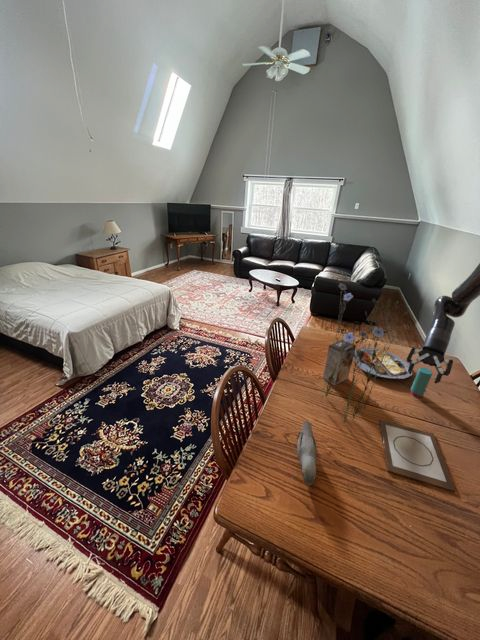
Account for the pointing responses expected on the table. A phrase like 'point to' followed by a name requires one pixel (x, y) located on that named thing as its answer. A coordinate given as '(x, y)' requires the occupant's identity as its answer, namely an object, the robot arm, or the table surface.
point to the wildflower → (349, 339)
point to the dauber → (421, 382)
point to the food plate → (383, 363)
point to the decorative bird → (307, 453)
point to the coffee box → (343, 365)
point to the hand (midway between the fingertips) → (422, 378)
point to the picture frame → (414, 455)
